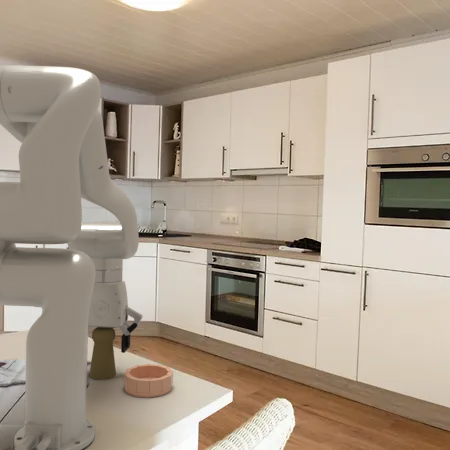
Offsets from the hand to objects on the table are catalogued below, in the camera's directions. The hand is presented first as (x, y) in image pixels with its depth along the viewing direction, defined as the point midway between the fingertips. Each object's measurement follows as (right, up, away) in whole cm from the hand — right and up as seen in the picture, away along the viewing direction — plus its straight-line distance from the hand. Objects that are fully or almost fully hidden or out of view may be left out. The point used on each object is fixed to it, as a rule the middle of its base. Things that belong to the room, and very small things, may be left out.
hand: (104, 349), depth 109 cm
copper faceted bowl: (+11, -6, -7) cm, 15 cm away
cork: (0, -6, 0) cm, 6 cm away
